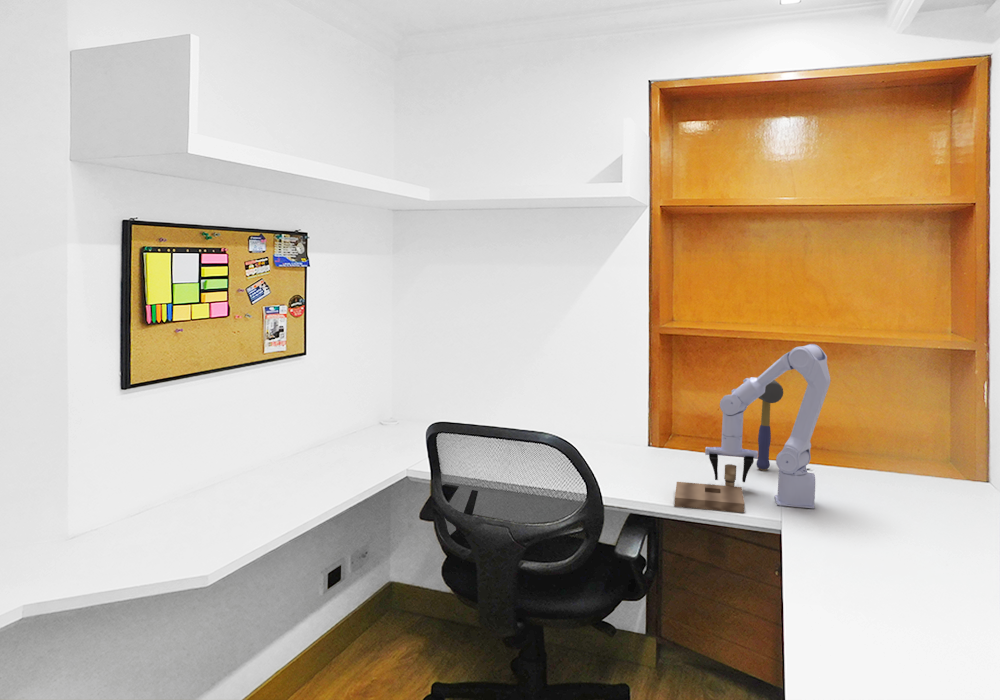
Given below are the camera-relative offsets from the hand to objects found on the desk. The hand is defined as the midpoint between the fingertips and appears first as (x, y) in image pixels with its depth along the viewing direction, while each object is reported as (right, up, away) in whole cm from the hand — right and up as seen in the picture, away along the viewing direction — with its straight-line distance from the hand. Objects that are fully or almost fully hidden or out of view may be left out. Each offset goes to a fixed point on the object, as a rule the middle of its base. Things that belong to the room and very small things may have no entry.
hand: (729, 480), depth 211 cm
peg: (0, -3, 0) cm, 3 cm away
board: (-9, -4, -11) cm, 15 cm away
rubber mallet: (+17, -1, +20) cm, 27 cm away
